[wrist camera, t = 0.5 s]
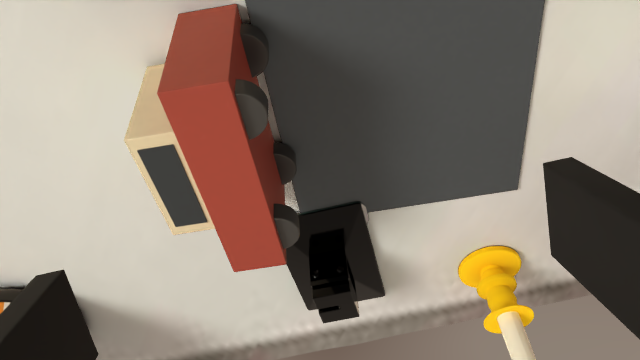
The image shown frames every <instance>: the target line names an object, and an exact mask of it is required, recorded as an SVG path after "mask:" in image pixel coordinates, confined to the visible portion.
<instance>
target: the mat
mask: <svg viewBox="0 0 640 360" xmlns="http://www.w3.org/2000/svg"><path fill="white" fill-rule="evenodd" d="M544 1H545V0H245V2H246V6H247V10H248V13H249V17H250V21H251V25H253V26H255V27H257V28H258V29H260V30H261V31H262V32H263V33H264V35H265V36H266V38H267V40H268V44H269V60H268V64H267V66H266V68H265V70H264V75H265V79H266V83H267V87H268V90H269V94H270V98H271V102H272V106H273V110H274V114H275V117H276V121H277V125H278V129H279V133H280V137H281V141H282V144H285V145H287V146H289V147H290V148H291V149H292V150H293V151H294V153H295V155H296V168H297V170H296V174H295V176H294V178H293V179H292V183H293V187H294V191H295V195H296V198H297V202H298V206H299V210H300V213H303V212H307V211H312V210H317V209H322V208H326V207H331V206H336V205H340V204H345V203H350V202H355V201H360V202H361V203H362V204H363V205H365V206H366V210H367V213H368V212H374V211H381V210H387V209H394V208H400V207H407V206H414V205H420V204H427V203H433V202H440V201H446V200H453V199H459V198H466V197H473V196H479V195H486V194H492V193H499V192H505V191H512V190H518V183H519V176H520V169H521V162H522V155H523V148H524V141H525V134H526V127H527V120H528V113H529V106H530V99H531V92H532V85H533V78H534V71H535V64H536V57H537V50H538V43H539V36H540V29H541V22H542V15H543V8H544Z"/></svg>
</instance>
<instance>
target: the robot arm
mask: <svg viewBox="0 0 640 360" xmlns="http://www.w3.org/2000/svg"><path fill="white" fill-rule="evenodd" d="M543 168H544V180H545V191H546V202H547V213H548V225H549V236H550V247H551V255H552V256H553V257H554V258H555V259H556V260H557V261H558V262H559V263H560V264H561V265H562V266H563V267H564V268H565V269H566V270H567V271H568V272H569V273H570V274H572V275H573V276H574V277H575V278H576V279H577V280H578V281H579V282H580V283H581V284H582V285H583V286H584V287H585V288H586V289H587V290H588V291H589V292H590V293H591V294H593V295H594V296H595V297H596V298H597V299H598V300H599V301H600V302H601V303H602V304H603V305H604V306H605V307H606V308H607V309H608V310H609V311H611V313H613V314H614V315H615V316H616V317H617V318H618V319H619V320H620V321H621V322H622V323H623V324H624V325H625V326H626V327H627V328H628V329H629V330H630V331H631V332H633V333H634V334H635V335H636V336H637V337H638V338H639V339H640V193H638V192H636V191H634V190H632V189H630V188H628V187H626V186H625V185H623V184H621V183H619V182H617V181H615V180H613V179H612V178H610V177H608V176H606V175H604V174H602V173H600V172H598V171H597V170H595V169H593V168H591V167H589V166H587V165H585V164H583V163H582V162H580V161H578V160H576V159H574V158H572V157H569V158H565V159H560V160H556V161H551V162H547V163H543ZM97 356H98V352H97V350H96V347H95V345H94V342H93V340H92V337H91V335H90V332H89V330H88V328H87V325H86V323H85V320H84V318H83V315H82V313H81V310H80V308H79V306H78V303H77V301H76V298H75V296H74V293H73V291H72V288H71V286H70V284H69V281H68V279H67V276H66V274H65V271H64V270H60V271H55V272H51V273H46V274H42V275H37V276H36V277H35V278H34V279H33V280H32V281H31V282H30V283H29V284H28V285H27V286H26V287H25V288H24V289H23V290H22V291H21V292H20V294H19V295H18V296H17V297H16V298H15V299H14V300H13V301H12V302H11V303H10V304H9V305H8V306H7V307H6V308H5V309H4V311H3V312H2V313H1V314H0V360H96V358H97Z"/></svg>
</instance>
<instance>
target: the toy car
mask: <svg viewBox="0 0 640 360" xmlns="http://www.w3.org/2000/svg"><path fill="white" fill-rule="evenodd" d="M268 60H269V44H268V40H267V38H266V36H265V35H264V33H263V32H262V31H261V30H260V29H258V28H257V27H255V26H253V25H250V24H246V23H242V21H241V18H240V14H239V10H238V7H237V4H233V5H227V6H221V7H216V8H210V9H204V10H199V11H193V12H187V13H182V14H178V18H177V21H176V25H175V29H174V32H173V36H172V40H171V43H170V47H169V51H168V54H167V58H166V61H165V64H161V65H155V66H149V67H147V69H146V72H145V75H144V79H143V82H142V85H141V88H140V91H139V94H138V98H137V101H136V104H135V107H134V110H133V113H132V116H131V120H130V123H129V126H128V129H127V132H126V135H125V139H124V141H125V143H126V145H127V147H128V149H129V151H130V153H131V155H132V157H133V158H134V160H135V162H136V164H137V166H138V168H139V170H140V172H141V174H142V176H143V178H144V180H145V182H146V183H147V185H148V187H149V189H150V191H151V193H152V195H153V197H154V199H155V201H156V203H157V205H158V207H159V208H160V210H161V212H162V214H163V216H164V218H165V220H166V222H167V224H168V226H169V228H170V230H171V232H172V233H173V235H176V234H183V233H189V232H196V231H202V230H209V229H216V231H217V234H218V236H219V238H220V241H221V243H222V245H223V247H224V250H225V252H226V254H227V257H228V259H229V261H230V264H231V266H232V268H233V271H234V272H238V271H245V270H252V269H259V268H265V267H272V266H279V265H286V248H289V247H290V246H292V245H294V244H295V243H296V242H297V240H298V238H299V235H300V228H299V217H298V214H297V213H296V211H295V210H294V209H292V208H291V207H289V206H286V205H285V187H284V184H286V183H288V182H290V181H291V180H292V179H293V178H294V176H295V174H296V170H297V168H296V155H295V153H294V151H293V150H292V149H291V148H290V147H289V146H287V145H285V144H282V143H277V142H274V139H273V135H272V132H271V128H270V124H269V121H268V99H267V96H266V95H265V93H264V92H263V90H262V89H261V88H260V87H259V84H258V80H257V77H256V76H258V75H259V74H261V73H262V72H263V71H264V70H265V68H266V66H267V64H268Z"/></svg>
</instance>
